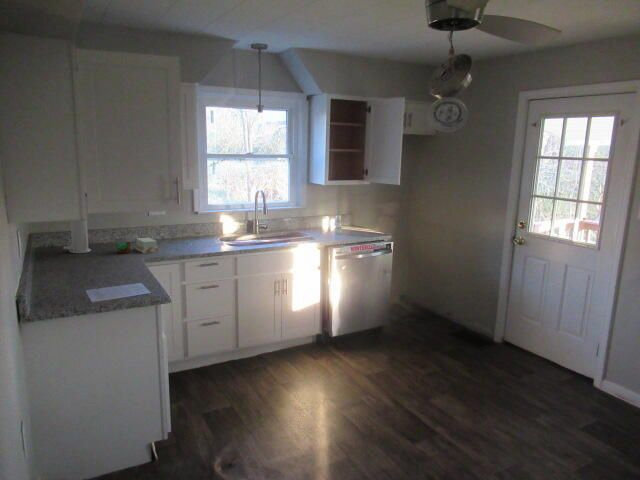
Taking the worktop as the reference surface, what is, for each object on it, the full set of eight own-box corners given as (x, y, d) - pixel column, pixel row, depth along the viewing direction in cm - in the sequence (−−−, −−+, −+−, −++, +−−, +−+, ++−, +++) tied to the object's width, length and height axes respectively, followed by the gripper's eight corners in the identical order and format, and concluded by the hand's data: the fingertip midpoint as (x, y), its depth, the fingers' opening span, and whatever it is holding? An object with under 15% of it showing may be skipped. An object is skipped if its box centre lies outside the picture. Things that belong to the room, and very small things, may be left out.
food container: (110, 252, 310) (110, 237, 308) (118, 250, 315) (118, 236, 313) (123, 255, 304) (123, 239, 302) (131, 253, 309) (131, 238, 308)
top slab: (143, 247, 312) (143, 242, 311) (136, 244, 322) (136, 238, 321) (156, 246, 318) (156, 241, 317) (149, 243, 328) (149, 237, 327)
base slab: (143, 254, 312) (143, 248, 312) (135, 249, 323) (135, 244, 322) (158, 252, 319) (157, 246, 318) (150, 248, 329) (150, 243, 328)
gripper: (136, 177, 330) (137, 201, 333) (147, 179, 318) (147, 204, 321) (147, 177, 335) (147, 201, 339) (157, 179, 323) (158, 204, 326)
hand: (147, 202), depth 330 cm, fingers open, 9 cm apart
